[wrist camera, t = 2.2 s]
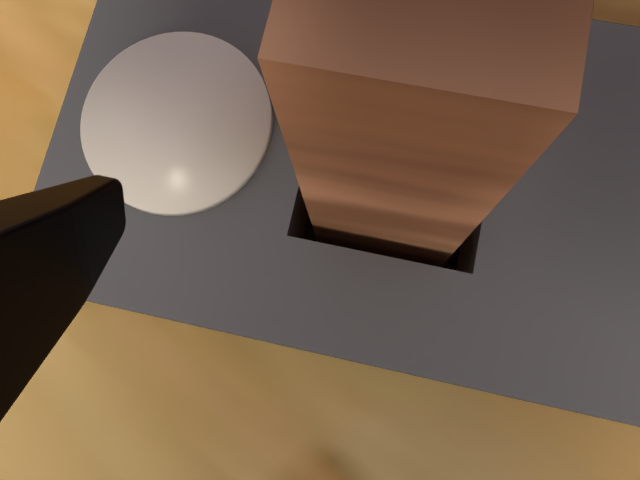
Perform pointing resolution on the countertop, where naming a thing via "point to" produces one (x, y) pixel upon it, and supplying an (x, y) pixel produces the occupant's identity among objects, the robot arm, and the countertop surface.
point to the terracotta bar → (418, 110)
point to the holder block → (344, 263)
